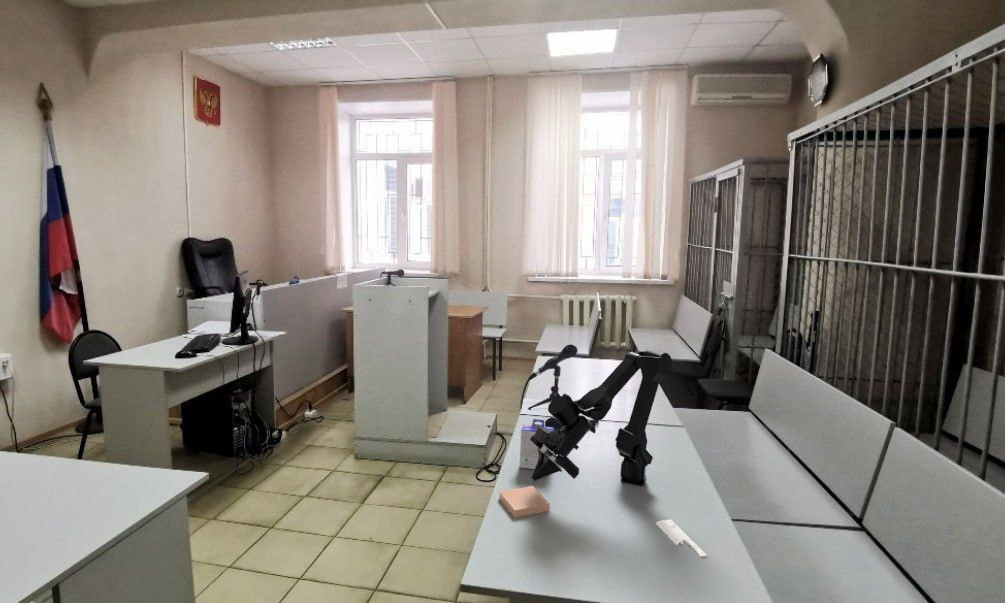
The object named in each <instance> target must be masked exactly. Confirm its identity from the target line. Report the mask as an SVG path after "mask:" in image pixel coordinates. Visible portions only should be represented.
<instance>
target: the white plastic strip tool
mask: <svg viewBox="0 0 1005 603" xmlns="http://www.w3.org/2000/svg"><path fill="white" fill-rule="evenodd" d="M655 525H656V526H659V529H660V528H661V531H662V532H663V533H664V534H665V535H666V534H667V535H668V536H667V535H666V536H667V537H668V538H669V539H670V540H671V541H672V542H673V543H674V545H676V546H678V545H679V544H680V545H682V546H683V545H684V543H685V542H686V543H685V544H687V545H688V546H689V545H690V546H691V547H690V546H689V547H690V548H691V549H693V551H694V552H695V551H696V554H697V555H698V556H699V558H701V557H702V558H707V557H708V555H707V553H705V552H704V551H703V550H702V548H700V547H699V546H698V545H697V544H696V543H695V542H694V541H693V540H692V539H691V538H690V536H688V535H687V534H686V533H685V532H684V530H682V529H681V528H680V527H679V526H678V525H677V524H676V523H675V522H674V521H673V520H672V519H663V520H658V521H656V522H655ZM683 541H684V542H683Z"/></svg>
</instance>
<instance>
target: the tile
mask: <svg viewBox="0 0 1005 603" xmlns="http://www.w3.org/2000/svg"><path fill="white" fill-rule="evenodd" d="M499 501H500V502H501V503H502V502H503V503H502V504H503V505H504V506H505V508H506V507H507V508H508V509H509V510H508V509H507V510H508V511H509V512H511V513H512V514H513V515H512V514H511V513H510V514H511V515H512V516H513V517H514V518H519V517H518V516H520V517H524V516H523V515H525V516H529V515H528V514H530V515H533V514H532V513H535V514H538V513H537V512H540V513H543V512H542V511H545V512H548V511H547V510H550V508H551V507H550V506H551V503H550V502H549V501H548V500H547V499H546V497H545V496H543V495H542V494H541V493H540V491H539V490H537V489H536V488H535V487H534V486H533V485H531V486H526V487H520V488H513V489H508V490H504V491H499Z"/></svg>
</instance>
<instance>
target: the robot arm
mask: <svg viewBox="0 0 1005 603" xmlns="http://www.w3.org/2000/svg"><path fill="white" fill-rule="evenodd" d="M672 364H673V358H672V357H671V355H670V354H669V353H667V352H664V351H661V350H658V349H654V348H648V349H646V350H644V351H642V350H639V351H638V350H637V351H635V352H627V353H626V354H625V355H624V358H623V360H621V362H620V363H619V364H618V365H617V366H616V367H615V368H614V370H613V371H612V372H611V373H610V374H609V375H608V376H607V378H606V379H605V380H604V381H603V382H602V383H601V384H600V385H599V386H598V387H595V388H592V389H590V390H588V391H587V393H585V394H584V395H582V397H581V398H578V399H574V400H573V399H572V397H571V395H568V394H566V393H563V394H562V395H560V396H557V397H555V398H554V399H552V400H551V401H550V402H549V404H548V407H547V411H548V413H549V414H550V415H551V416H552V417H553V418H554V419H555V421H557V422H558V423H559V424H560V425H561V426H563V427H562V428H561V429H559V428H555V429H554V431H550V430H548V429H545V428H542V427H540V426H538V428H537V430H536V433H535V434H534V435H533V436H532V437H531V438H530V440H531V441H532V442H533V443H534V444H535V445H536V446H537V447H538V448H539V449H540V450H539V449H537V451H538V453H539V459H538V462H537V465H536V467H535V469H533V473H532V475H531V478H530V479H532V480H533V482H536V481H538V480H540V479H543V478H546V477H548V476H550V475H553V474H556V473H558V472H561V473H562V472H563V470H564V471H565V472H566V473H567V474H568V475H569V476H570V477H571V478H572V479H573V480H575V479H576V478H577V477H578V476H579V475H580V468H579V467H578V466H577V465H576V464H575V463H574V462H573V461H572V459H571V460H570V458H569V457H568V456H569V454H570V453H571V452H572V451H573V450H574V449H575V450H577V451H578V449H579V448H580V446H579V443H580V441H582V439H583V438H584V437H585V435H587V433H589V432H591V433H593V434H596V432H597V431H596V423H595V422H594V421H601V420H603V419H604V418H605V417H607V414H608V413H609V412H610V410H611V408H612V405H613V400H614V399H615V397H616V396H617V395H618V394H619V393H620V392H621V390H622V389H623V388H624V387H625V386H626V384H628V382H630V380H631V379H632V378H633V377H634V376H635V375H636V373H637V372H638V371H639V370H640V372H641V376H642V377H641V381H640V384H639V388H638V389H637V390H638V392H637V393H636V394H637V395H636V397H635V400H634V404H633V408H632V411H631V414H630V417H629V421H628V423H627V425H625V427H624V428H622V427H619V429H618V430H617V431H618V432H617V436H616V438H615V440H614V441H615V442H616V443H615V448H616V449H617V451H618V454H619V456H620V457H622V458H623V460H622V461H621V464H620V477H621V478H620V482H623V483H626V484H631V485H636V486H644V485H645V482H646V479H647V478H646V477H647V475H646V471H647V467H648V465H651V464H652V461H653V459H654V458H653V457H654V456H652V455H651V453H650V452H648V450H647V446H648V445H647V444H648V437H647V433H646V428H647V425H648V421H649V418H650V415H651V412H652V408H653V406H654V401H655V398H656V395H657V392H658V389H659V384H660V383H661V382H662V381H663V380H664V379H665V378H666V377H667V376H668V375H669V373H670V372H669V371H671V370H670V369H671V368H672ZM580 414H581V415H580ZM586 417H587V418H586ZM588 418H589V419H590V420H589V419H588ZM591 419H592V420H591ZM552 451H553V452H552ZM562 469H563V470H562Z"/></svg>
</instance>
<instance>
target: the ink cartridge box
mask: <svg viewBox="0 0 1005 603" xmlns="http://www.w3.org/2000/svg"><path fill="white" fill-rule="evenodd" d="M536 423H541V424H536ZM538 426H540V427H542V428H545V429H548V430H550V431H555V427H552V426H545V419H537V418H533V419H532V425H531V424H523V426H522V428H521V430H520V443H519V446H520V448H519V466H518V467H519V468H520V469H521V468H522V469H530V470H535V467H536V465H537V462H538V459H539V453H538V451H537V449H539V448H538V447H537V446H536V445H535V444H534V443H533V442H532V441H531V440H530V438H531V437H532V436H533V435H534V434H535V433H536V430H537V428H538ZM539 450H540V449H539ZM552 452H553V451H552Z"/></svg>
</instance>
